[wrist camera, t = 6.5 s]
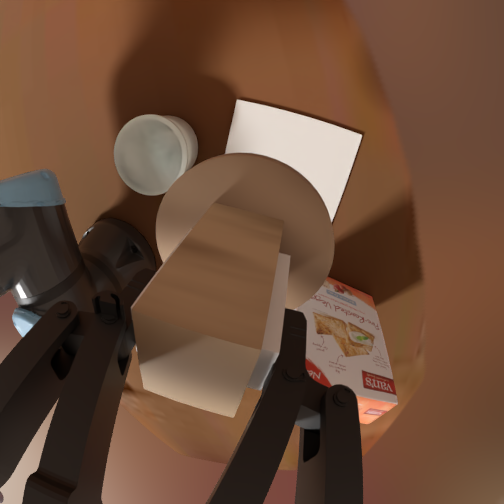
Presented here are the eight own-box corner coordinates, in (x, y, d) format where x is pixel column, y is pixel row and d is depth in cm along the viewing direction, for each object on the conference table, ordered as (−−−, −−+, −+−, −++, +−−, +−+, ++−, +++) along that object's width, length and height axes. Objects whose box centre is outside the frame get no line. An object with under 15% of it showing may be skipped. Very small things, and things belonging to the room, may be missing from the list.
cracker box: (373, 293, 42) (401, 405, 24) (353, 317, 45) (367, 426, 28) (298, 259, 41) (294, 379, 23) (281, 288, 44) (266, 405, 26)
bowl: (197, 187, 38) (180, 203, 32) (136, 173, 38) (112, 187, 33) (210, 117, 33) (193, 120, 27) (143, 107, 33) (117, 111, 27)
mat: (323, 242, 39) (323, 243, 39) (214, 211, 39) (213, 213, 39) (361, 134, 31) (362, 135, 31) (237, 99, 31) (237, 99, 31)
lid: (301, 322, 20) (290, 451, 12) (161, 282, 21) (93, 388, 12) (358, 182, 15) (423, 300, 6) (171, 136, 15) (37, 195, 6)
